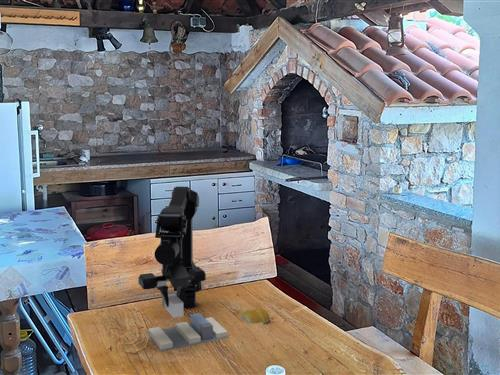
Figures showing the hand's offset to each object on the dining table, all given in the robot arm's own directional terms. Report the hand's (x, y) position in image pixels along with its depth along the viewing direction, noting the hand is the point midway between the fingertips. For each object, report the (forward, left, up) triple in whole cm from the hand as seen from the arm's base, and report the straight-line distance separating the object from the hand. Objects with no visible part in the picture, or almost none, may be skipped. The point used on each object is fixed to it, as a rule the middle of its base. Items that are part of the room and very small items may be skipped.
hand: (172, 305), depth 165 cm
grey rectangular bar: (0, +9, -10) cm, 13 cm away
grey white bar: (0, 0, -2) cm, 2 cm away
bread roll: (-3, +29, -11) cm, 31 cm away
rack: (0, +4, -11) cm, 12 cm away
